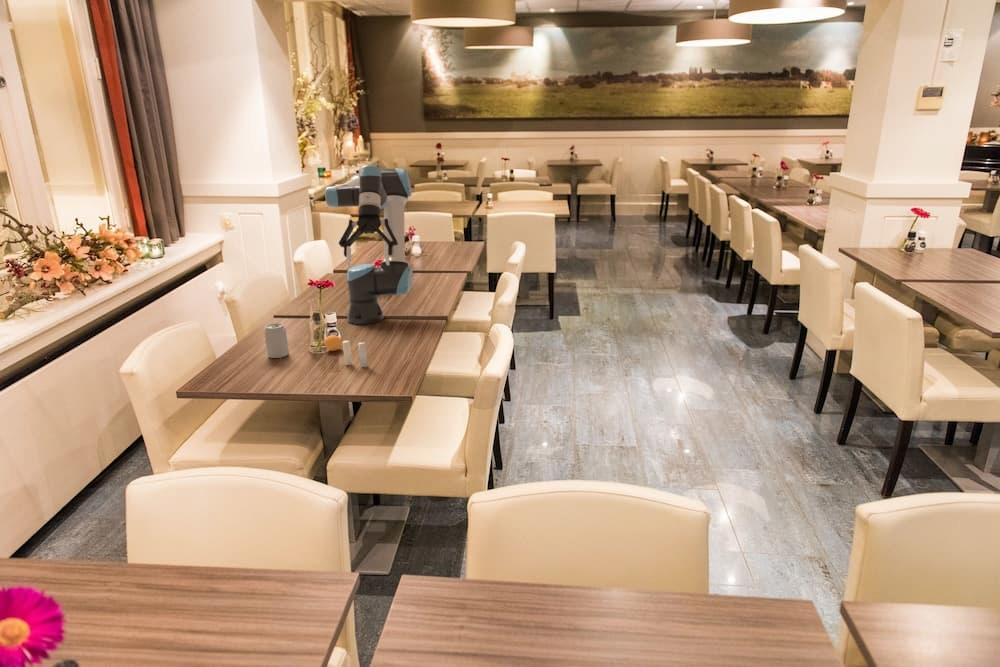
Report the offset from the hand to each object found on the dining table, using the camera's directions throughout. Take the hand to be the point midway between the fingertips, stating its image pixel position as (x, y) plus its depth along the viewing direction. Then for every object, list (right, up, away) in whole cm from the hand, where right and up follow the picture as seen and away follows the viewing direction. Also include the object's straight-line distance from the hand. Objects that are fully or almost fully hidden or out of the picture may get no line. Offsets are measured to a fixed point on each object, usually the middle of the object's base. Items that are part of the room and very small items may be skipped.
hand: (367, 264), depth 231 cm
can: (-36, -32, +17) cm, 51 cm away
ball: (-17, -27, +19) cm, 37 cm away
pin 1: (-8, -35, +6) cm, 36 cm away
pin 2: (-2, -35, +4) cm, 36 cm away
